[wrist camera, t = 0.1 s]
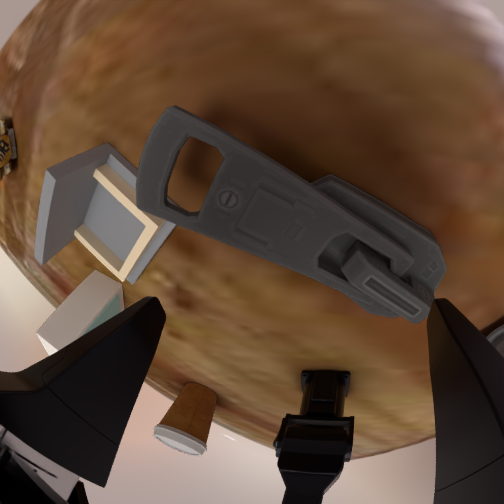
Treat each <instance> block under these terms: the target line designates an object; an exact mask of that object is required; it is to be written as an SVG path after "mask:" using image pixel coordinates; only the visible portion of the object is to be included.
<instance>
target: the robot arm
mask: <svg viewBox="0 0 504 504" xmlns="http://www.w3.org/2000/svg"><path fill="white" fill-rule="evenodd" d="M165 321H166V313H165V311H164V309H163V307H162V305H161V303H160V301H159V299H158V298H157V297H152V296H147V297H145V298H143V299H141V300H140V301H138V302H136V303H135V304H133V305H131V306H130V307H128V308H126V309H125V310H123V311H121V312H120V313H118V314H117V315H115V316H113V317H112V318H110V319H108V320H107V321H105V322H104V323H102V324H100V325H99V326H97V327H96V328H94V329H92V330H91V331H89V332H87V333H86V334H84V335H83V336H81V337H79V338H78V339H76V340H75V341H73V342H72V343H70V344H68V345H67V346H65V347H63V348H62V349H60V350H58V351H57V352H55V353H54V354H52V355H50V356H48V357H46V358H45V359H43V360H41V361H39V362H37V363H36V364H34V365H32V366H30V367H28V368H27V369H24V370H22V371H20V372H12V373H11V372H1V371H0V504H89V503H88V499H87V496H86V492H85V488H84V484H83V482H81V481H80V480H79V477H82V478H84V479H86V480H88V481H90V482H92V483H95V484H96V485H99V486H101V487H103V488H104V487H105V486H106V483H107V480H108V477H109V474H110V471H111V468H112V465H113V462H114V459H115V456H116V454H117V451H118V448H119V445H120V442H121V439H122V436H123V434H124V431H125V428H126V426H127V422H128V420H129V418H130V415H131V412H132V410H133V407H134V405H135V402H136V399H137V397H138V394H139V392H140V389H141V387H142V384H143V382H144V380H145V377H146V375H147V372H148V370H149V367H150V365H151V363H152V360H153V358H154V355H155V352H156V349H157V346H158V343H159V340H160V337H161V333H162V330H163V327H164V324H165ZM427 334H428V346H429V364H430V376H431V384H432V392H433V402H434V414H435V430H436V478H435V493H434V503H433V504H504V357H503V356H502V355H501V354H500V353H499V351H498V350H497V349H496V348H495V347H494V346H493V345H492V344H491V343H490V342H489V340H488V339H487V338H486V337H485V336H484V335H483V334H482V333H481V332H480V331H479V330H478V329H477V328H476V327H475V326H474V325H473V324H472V323H471V322H470V321H469V320H468V319H467V318H466V317H465V316H464V315H463V314H462V313H461V312H460V311H459V310H458V309H457V308H456V307H455V306H454V305H453V304H452V303H451V302H450V301H449V300H448V299H446V298H439V299H434V300H433V302H432V305H431V308H430V312H429V315H428V319H427ZM301 380H302V389H303V398H302V403H301V408H300V413H299V415H291V414H286V417H285V418H283V420H282V424H281V428H280V430H279V432H278V434H277V436H276V438H275V440H274V442H273V446H274V447H275V449H276V457H278V463H277V465H278V468H279V471H280V473H281V476H282V478H283V481H284V484H285V486H286V490H285V494H284V497H283V501H282V504H321V503H322V499H323V495H324V494H325V493H326V492H327V491H328V490H329V488H330V487H331V486H332V485H333V484H334V483H335V482H336V481H337V480H338V479H339V477H340V475H341V472H342V470H343V467H344V462H349V461H350V457H351V452H352V446H353V433H354V416H350V417H343V413H344V402H345V397H347V393H348V387H349V381H350V373H349V372H317V371H302V373H301Z"/></svg>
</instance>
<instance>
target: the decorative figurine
mask: <svg viewBox="0 0 504 504" xmlns="http://www.w3.org/2000/svg"><path fill="white" fill-rule="evenodd" d="M16 157H17V154H16V146H15V138H14V130H13V128H12V129H8V128H7V127H6V124H5V120H0V181H1V180H2V178H3V176H4V175H6V174H8V173H10V172H11V171H12V163H11V161H10V160H12V159H15V158H16Z"/></svg>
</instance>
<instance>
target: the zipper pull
mask: <svg viewBox="0 0 504 504" xmlns="http://www.w3.org/2000/svg"><path fill="white" fill-rule="evenodd" d="M189 137H194V138H197V139H199V140H201V141H203V142H206V143H208V144H210V145H212V146H214V147H216V148H218V150H219V152H220V153H221V155H222V156H223V158H224V159H223V161H222V163H221V165H220V167H219V169H218V172H217V174H216V176H215V178H214V180H213V182H212V185H211V187H210V189H209V191H208V193H207V196H206V198H205V200H204V202H203V205H202V207H201V209H200V211H199V212H188V211H186V210H184V209H182V208H180V207H178V206H176V205H174V204H171V203H169V201H168V200H167V191H168V182H169V179H170V177H171V174H172V171H173V168H174V165H175V163H176V160H177V157H178V155H179V152H180V149H181V148H182V146H183V145H184V144H185V142H186V141H187V140H188V138H189ZM136 206H137V208H138V209H139V210H141V211H144V212H146V213H149V214H151V215H154V216H156V217H159V218H161V219H164V220H166V221H169V222H171V223H174V224H176V225H179V226H181V227H184V228H186V229H189V230H192V231H195V232H197V233H200V234H202V235H205V236H207V237H210V238H212V239H215V240H217V241H220V242H223V243H225V244H228V245H230V246H233V247H235V248H238V249H240V250H243V251H245V252H248V253H250V254H253V255H255V256H258V257H260V258H263V259H265V260H268V261H270V262H273V263H275V264H278V265H281V266H283V267H286V268H288V269H291V270H293V271H296V272H298V273H301V274H303V275H305V276H308V277H310V278H312V279H314V280H316V281H318V282H321V283H323V284H325V285H327V286H329V287H331V288H334V289H336V290H338V291H340V292H342V293H344V294H345V295H346V296H348V297H349V298H350V299H352V300H353V301H354V302H355V303H357V304H358V305H359V306H361V307H362V308H363V309H364V310H366V311H367V312H368V313H370V314H374V315H380V316H385V317H391V318H396V317H398V316H402V317H403V318H405V319H407V320H408V321H410V322H411V323H413V324H417V323H420V322H421V321H422V320H424V319H425V318H426V317H427V316H428V315H429V312H430V308H431V305H432V302H433V300H434V299H435V298H434V291H435V289H436V288H437V286H438V284H439V283H440V281H441V279H442V278H443V276H444V274H445V273H446V271H447V267H446V264H445V261H444V258H443V255H442V252H441V250H440V247H439V245H438V243H437V242H436V240H435V238H434V236H433V235H432V233H431V232H430V231H428V230H427V229H425V228H424V227H422V226H420V225H419V224H417V223H416V222H414V221H412V220H411V219H409V218H407V217H406V216H404V215H403V214H401V213H400V212H398V211H396V210H395V209H393V208H391V207H390V206H388V205H387V204H385V203H383V202H382V201H380V200H378V199H376V198H375V197H373V196H371V195H370V194H368V193H366V192H364V191H363V190H361V189H359V188H357V187H355V186H354V185H352V184H350V183H348V182H346V181H344V180H342V179H340V178H338V177H336V176H334V175H332V174H329V175H326V176H324V177H322V178H320V179H318V180H316V181H314V182H312V183H309V182H307V181H306V180H304V179H303V178H301V177H300V176H298V175H297V174H295V173H294V172H292V171H290V170H289V169H287V168H286V167H284V166H283V165H281V164H279V163H278V162H276V161H275V160H273V159H271V158H270V157H268V156H266V155H265V154H263V153H262V152H260V151H258V150H257V149H255V148H253V147H251V146H250V145H248V144H246V143H245V142H243V141H241V140H239V139H238V138H236V137H235V136H233V135H231V134H230V133H228V132H227V131H225V130H223V129H221V128H219V127H217V126H215V125H214V124H212V123H210V122H208V121H206V120H204V119H202V118H200V117H198V116H196V115H194V114H192V113H190V112H188V111H186V110H184V109H182V108H180V107H178V106H176V105H175V106H171V107H168V108H166V110H165V111H164V112H163V114H162V115H161V117H160V118H159V119H158V121H157V122H156V124H155V125H154V127H153V128H152V130H151V132H150V134H149V137H148V139H147V141H146V144H145V146H144V149H143V152H142V156H141V159H140V163H139V167H138V172H137V179H136Z"/></svg>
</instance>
